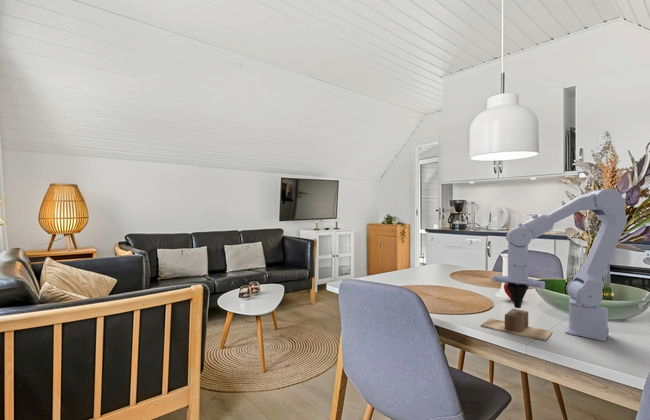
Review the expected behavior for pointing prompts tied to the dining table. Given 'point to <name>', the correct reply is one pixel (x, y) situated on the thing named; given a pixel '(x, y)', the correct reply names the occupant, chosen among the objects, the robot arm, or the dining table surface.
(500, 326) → the light wood flat board
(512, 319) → the walnut block
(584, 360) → the dining table surface
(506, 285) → the strawberry
